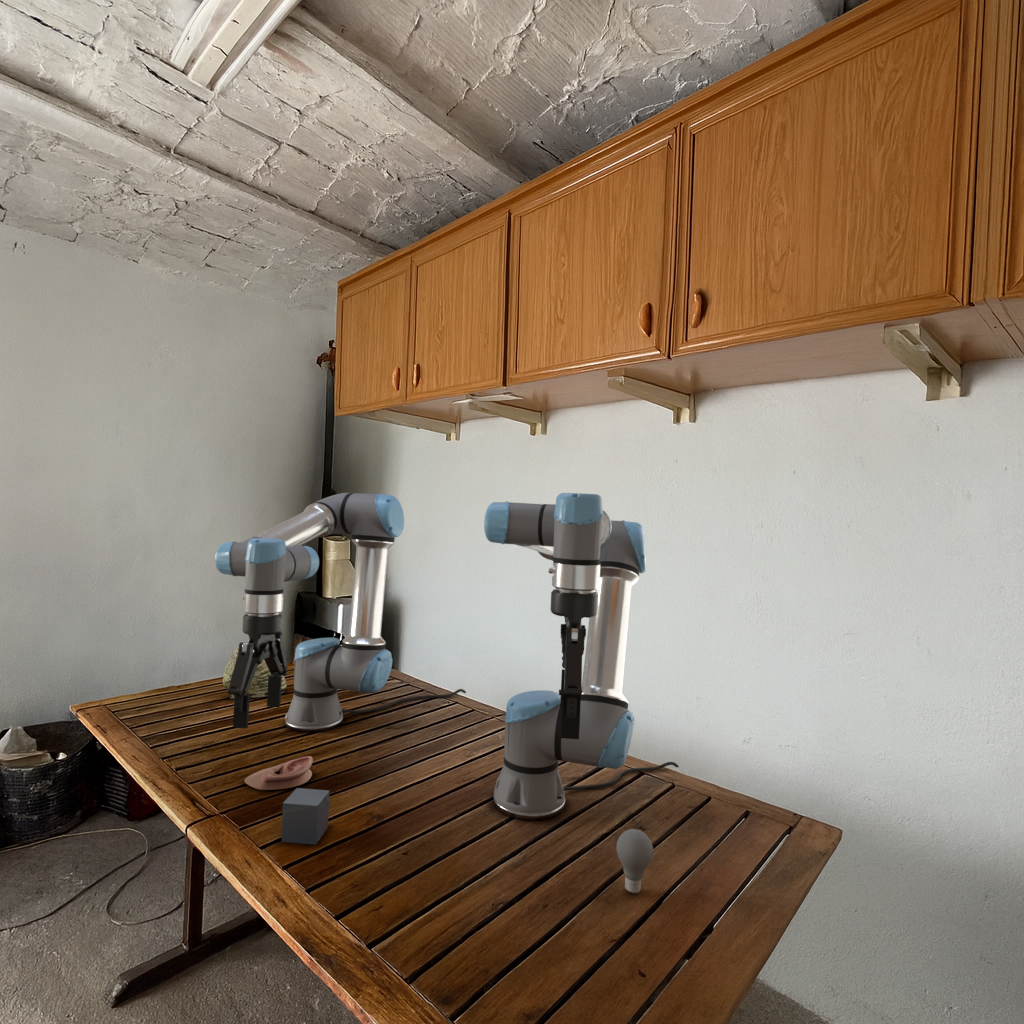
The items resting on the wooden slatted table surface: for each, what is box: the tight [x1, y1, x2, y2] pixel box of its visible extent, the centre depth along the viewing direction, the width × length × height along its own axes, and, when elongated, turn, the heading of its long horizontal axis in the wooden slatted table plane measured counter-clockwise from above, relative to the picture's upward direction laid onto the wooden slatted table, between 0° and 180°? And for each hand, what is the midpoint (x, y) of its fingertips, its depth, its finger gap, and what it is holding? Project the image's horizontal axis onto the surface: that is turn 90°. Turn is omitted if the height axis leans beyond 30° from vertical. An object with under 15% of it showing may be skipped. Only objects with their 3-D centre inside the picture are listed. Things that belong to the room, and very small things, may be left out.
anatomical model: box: [244, 755, 314, 791], centre depth 141 cm, size 13×4×12 cm
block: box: [281, 787, 330, 846], centre depth 119 cm, size 6×6×7 cm
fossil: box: [222, 646, 288, 699], centre depth 198 cm, size 9×18×15 cm, turn 132°
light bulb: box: [615, 828, 654, 894], centre depth 106 cm, size 6×6×10 cm
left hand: (257, 716), depth 130 cm, fingers open, 13 cm apart
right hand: (568, 722), depth 101 cm, fingers open, 13 cm apart
